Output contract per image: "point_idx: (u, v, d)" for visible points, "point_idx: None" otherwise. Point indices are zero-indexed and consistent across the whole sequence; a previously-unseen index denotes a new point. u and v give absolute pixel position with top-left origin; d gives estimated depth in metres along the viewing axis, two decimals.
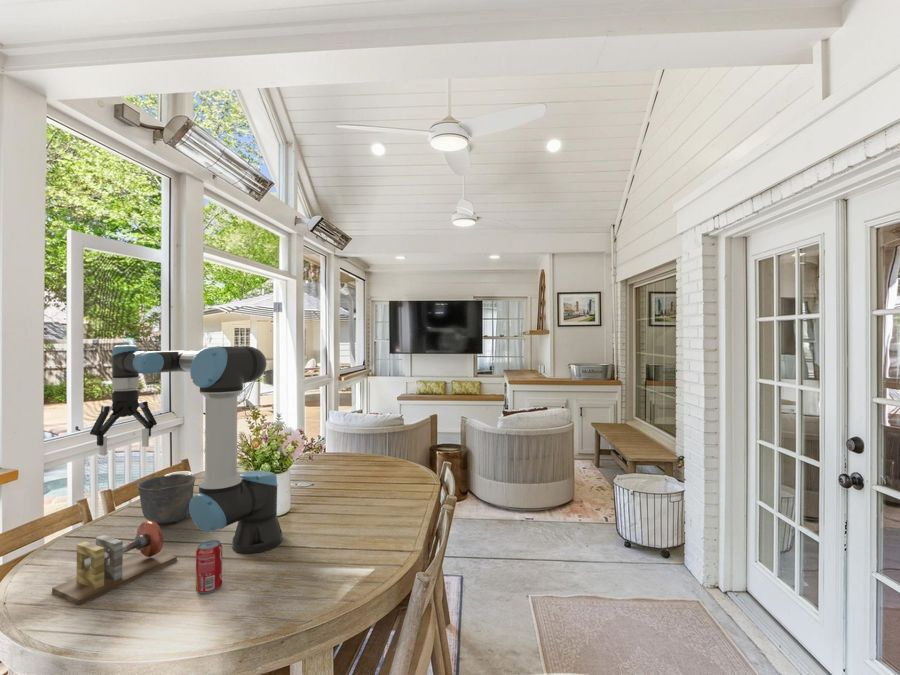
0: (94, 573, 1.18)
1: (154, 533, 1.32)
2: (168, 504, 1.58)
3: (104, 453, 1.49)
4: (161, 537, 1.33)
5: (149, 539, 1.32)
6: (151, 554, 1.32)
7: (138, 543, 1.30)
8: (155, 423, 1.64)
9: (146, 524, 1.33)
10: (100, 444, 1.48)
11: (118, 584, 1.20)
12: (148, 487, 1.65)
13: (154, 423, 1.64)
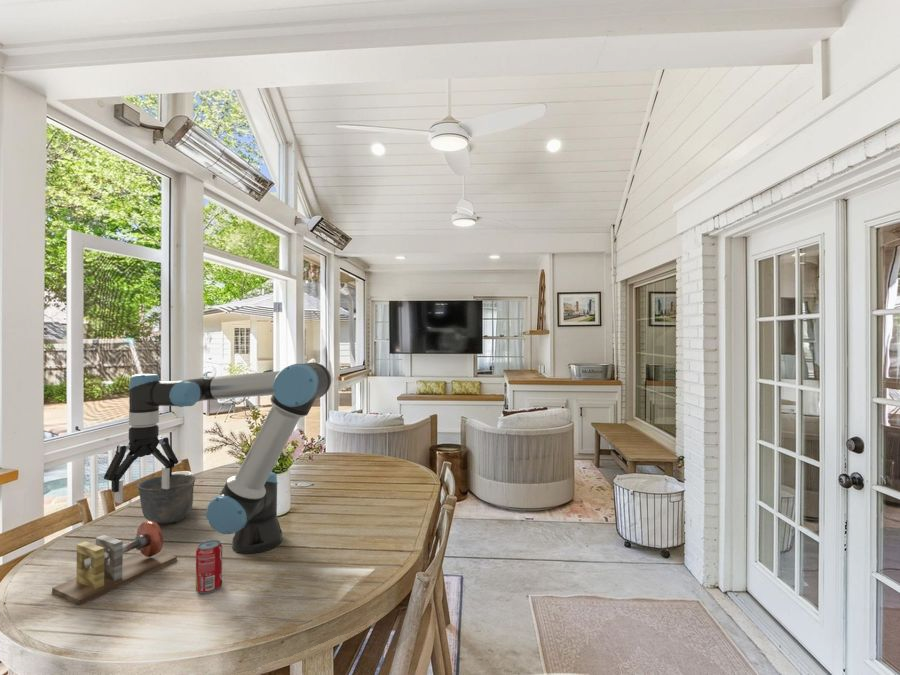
0: (94, 573, 1.18)
1: (154, 533, 1.32)
2: (168, 504, 1.58)
3: (120, 500, 1.29)
4: (161, 537, 1.33)
5: (149, 539, 1.32)
6: (151, 554, 1.32)
7: (138, 543, 1.30)
8: (176, 461, 1.44)
9: (146, 524, 1.33)
10: (115, 490, 1.28)
11: (118, 584, 1.20)
12: (148, 487, 1.65)
13: (175, 461, 1.44)
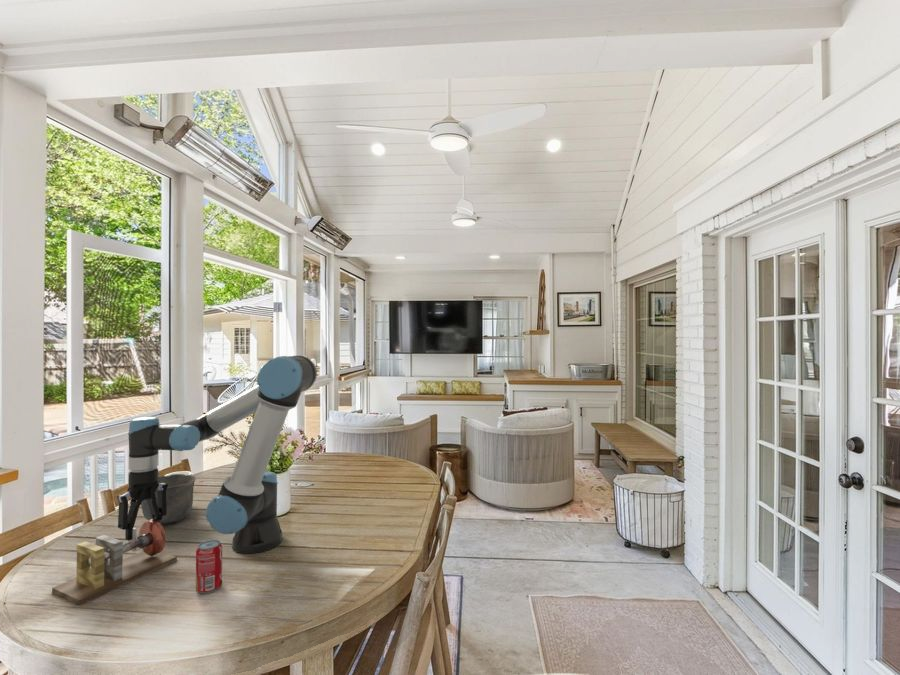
0: (94, 573, 1.18)
1: (157, 532, 1.32)
2: (168, 504, 1.58)
3: None
4: (164, 536, 1.33)
5: (152, 538, 1.33)
6: (154, 553, 1.33)
7: (141, 542, 1.31)
8: (165, 513, 1.40)
9: (149, 523, 1.34)
10: (129, 538, 1.31)
11: (118, 584, 1.20)
12: None
13: (164, 513, 1.40)
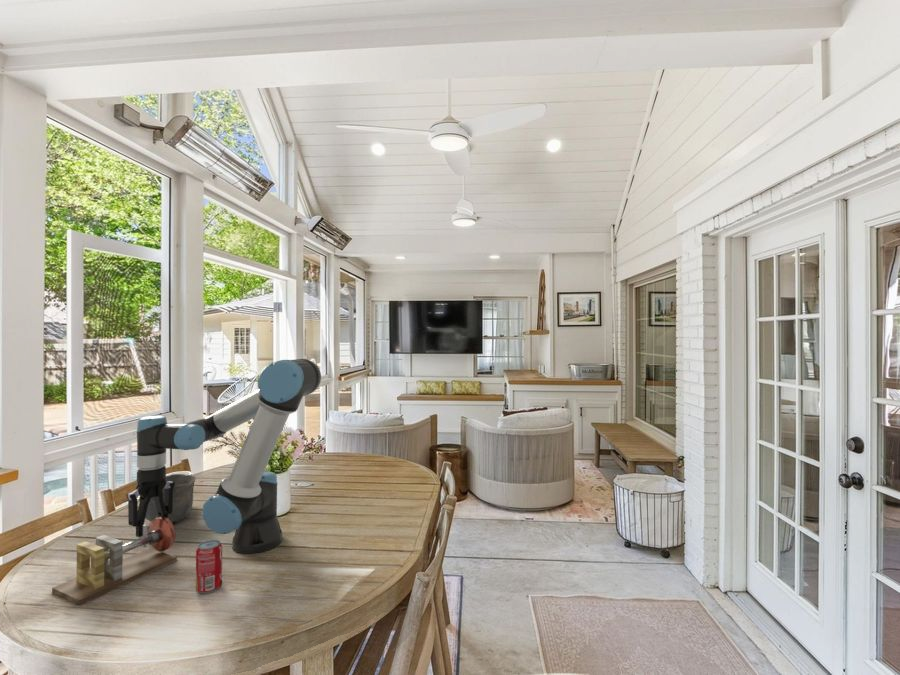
0: (94, 573, 1.18)
1: (166, 528, 1.35)
2: None
3: (144, 545, 1.35)
4: (173, 532, 1.36)
5: (161, 534, 1.36)
6: (163, 549, 1.36)
7: (151, 538, 1.34)
8: (170, 511, 1.42)
9: (158, 520, 1.37)
10: (139, 535, 1.34)
11: (118, 584, 1.20)
12: None
13: (170, 511, 1.42)
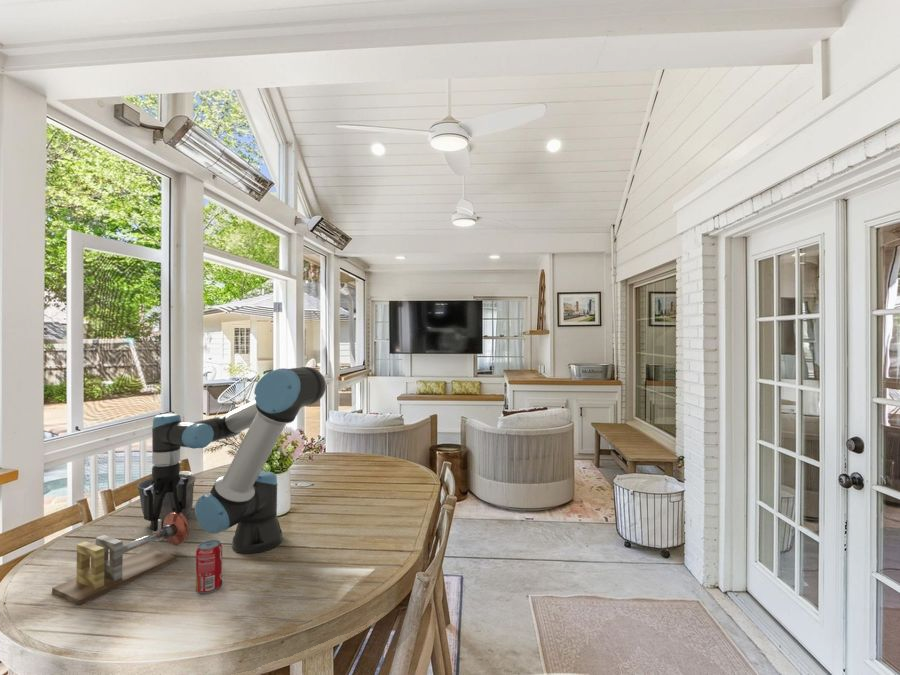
0: (94, 573, 1.18)
1: (181, 523, 1.39)
2: (168, 504, 1.58)
3: (158, 539, 1.39)
4: (187, 527, 1.40)
5: (176, 529, 1.40)
6: (177, 543, 1.40)
7: (166, 532, 1.38)
8: (184, 507, 1.46)
9: (172, 514, 1.41)
10: (154, 529, 1.38)
11: (118, 584, 1.20)
12: None
13: (183, 506, 1.46)
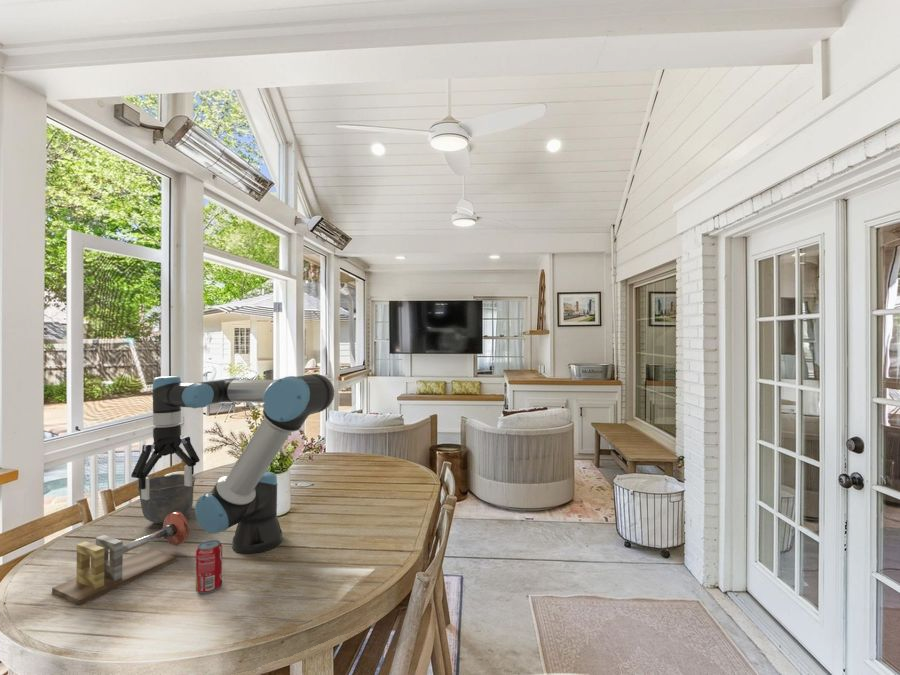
0: (94, 573, 1.18)
1: (181, 523, 1.39)
2: (168, 504, 1.58)
3: (147, 497, 1.35)
4: (187, 527, 1.40)
5: (175, 529, 1.40)
6: (177, 543, 1.40)
7: (165, 532, 1.38)
8: (198, 460, 1.50)
9: (172, 515, 1.41)
10: (142, 487, 1.34)
11: (118, 584, 1.20)
12: None
13: (197, 460, 1.50)
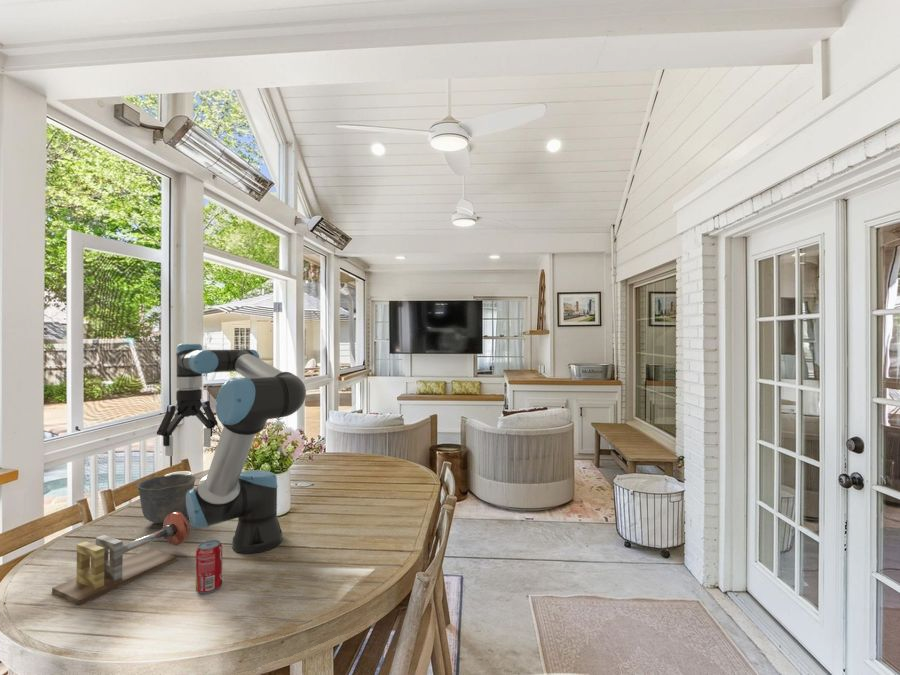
0: (94, 573, 1.18)
1: (181, 523, 1.39)
2: (168, 504, 1.58)
3: (170, 454, 1.46)
4: (187, 527, 1.40)
5: (175, 529, 1.40)
6: (177, 543, 1.40)
7: (165, 532, 1.38)
8: (216, 423, 1.61)
9: (172, 515, 1.41)
10: (167, 444, 1.45)
11: (118, 584, 1.20)
12: (148, 487, 1.65)
13: (215, 423, 1.61)
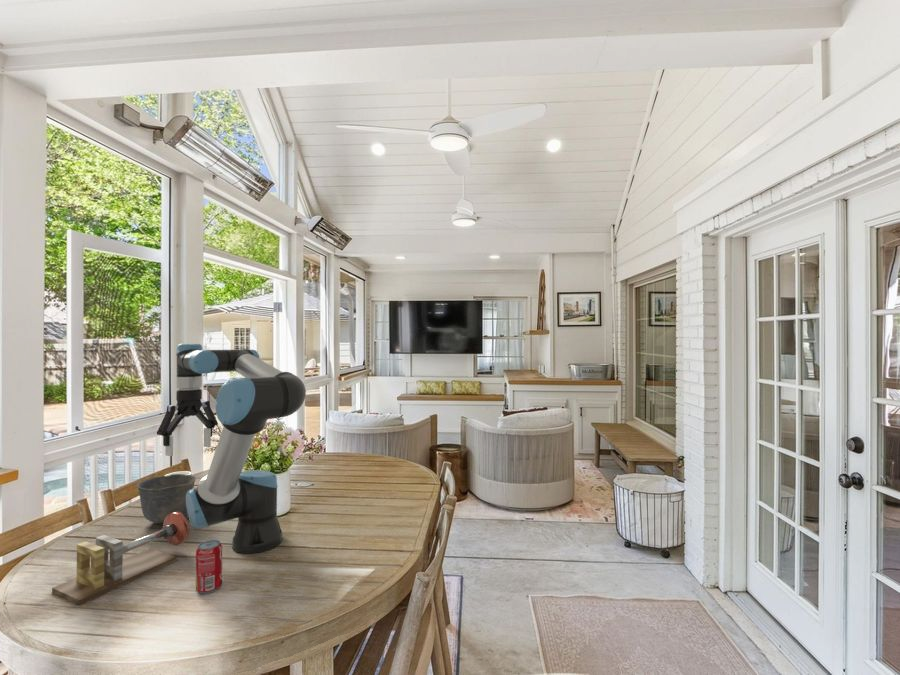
0: (94, 573, 1.18)
1: (181, 523, 1.39)
2: (168, 504, 1.58)
3: (170, 454, 1.46)
4: (187, 527, 1.40)
5: (175, 529, 1.40)
6: (177, 543, 1.40)
7: (165, 532, 1.38)
8: (216, 423, 1.61)
9: (172, 515, 1.41)
10: (167, 444, 1.45)
11: (118, 584, 1.20)
12: (148, 487, 1.65)
13: (215, 423, 1.61)
